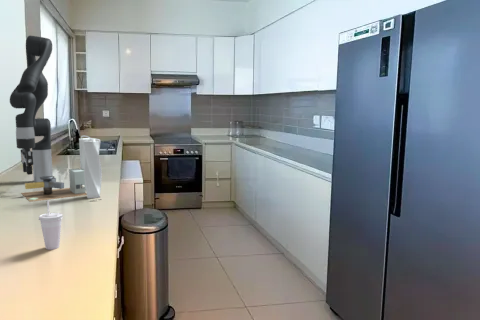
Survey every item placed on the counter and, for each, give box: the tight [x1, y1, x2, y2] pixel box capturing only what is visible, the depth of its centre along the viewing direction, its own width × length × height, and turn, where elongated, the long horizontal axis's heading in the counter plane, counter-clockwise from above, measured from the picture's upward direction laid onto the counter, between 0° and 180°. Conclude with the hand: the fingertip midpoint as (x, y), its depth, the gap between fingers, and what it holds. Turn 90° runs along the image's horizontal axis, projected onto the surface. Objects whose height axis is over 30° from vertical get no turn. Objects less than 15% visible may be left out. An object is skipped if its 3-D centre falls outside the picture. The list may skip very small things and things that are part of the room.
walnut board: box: [21, 187, 87, 203], centre depth 196 cm, size 21×24×1 cm
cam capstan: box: [24, 175, 65, 194], centre depth 194 cm, size 16×14×7 cm
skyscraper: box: [80, 134, 103, 202], centre depth 189 cm, size 8×8×28 cm
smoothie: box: [38, 200, 64, 250], centre depth 127 cm, size 6×6×14 cm
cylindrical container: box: [78, 137, 93, 191], centre depth 206 cm, size 7×7×25 cm
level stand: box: [68, 168, 86, 194], centre depth 200 cm, size 10×4×10 cm, turn 35°
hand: (27, 173), depth 198 cm, fingers open, 8 cm apart
